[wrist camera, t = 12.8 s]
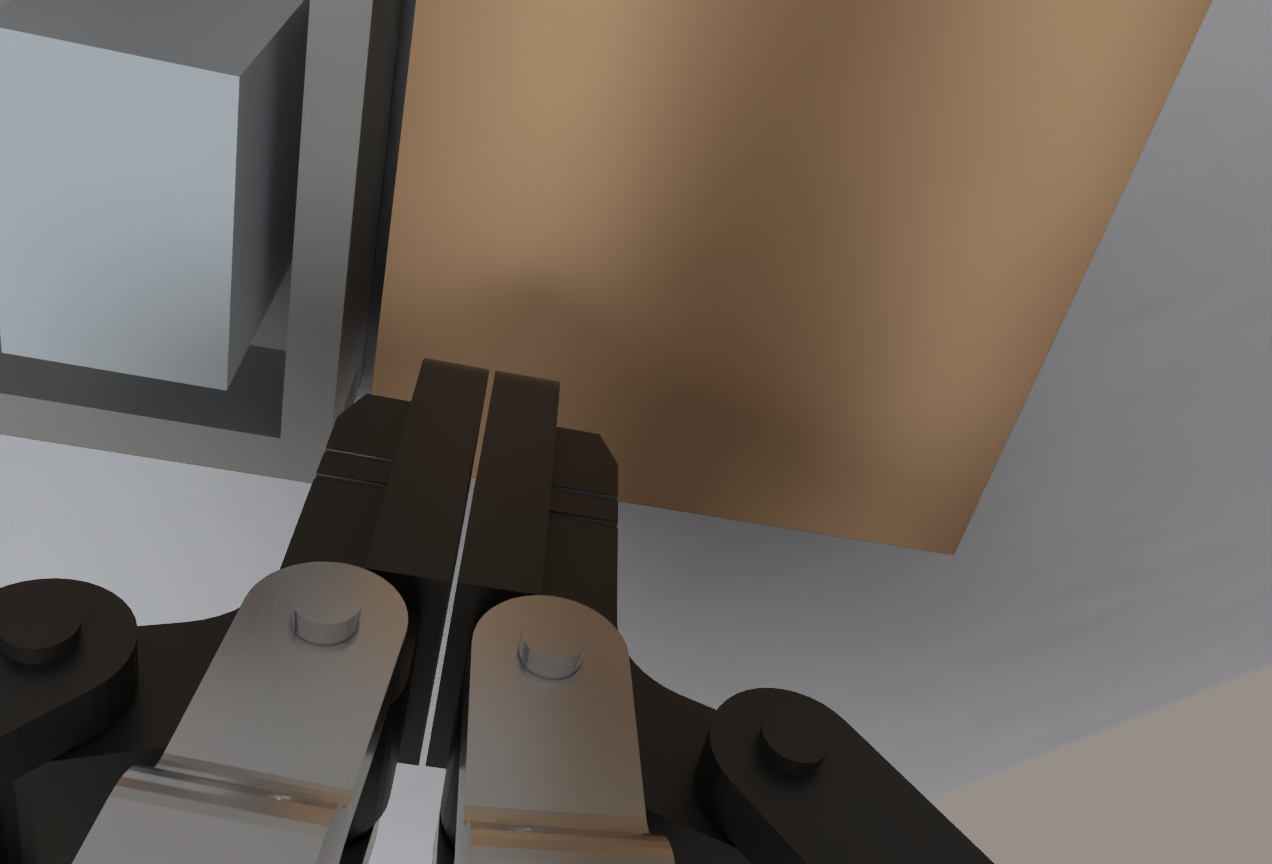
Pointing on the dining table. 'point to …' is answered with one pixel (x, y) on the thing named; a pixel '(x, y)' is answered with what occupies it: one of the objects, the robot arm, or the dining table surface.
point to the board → (768, 231)
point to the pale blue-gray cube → (147, 179)
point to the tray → (299, 313)
